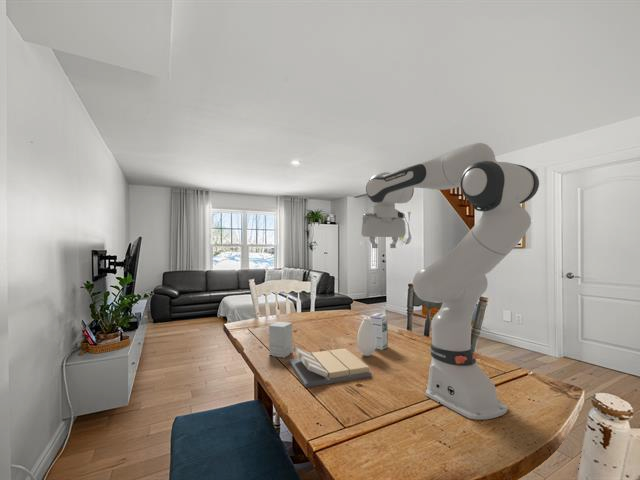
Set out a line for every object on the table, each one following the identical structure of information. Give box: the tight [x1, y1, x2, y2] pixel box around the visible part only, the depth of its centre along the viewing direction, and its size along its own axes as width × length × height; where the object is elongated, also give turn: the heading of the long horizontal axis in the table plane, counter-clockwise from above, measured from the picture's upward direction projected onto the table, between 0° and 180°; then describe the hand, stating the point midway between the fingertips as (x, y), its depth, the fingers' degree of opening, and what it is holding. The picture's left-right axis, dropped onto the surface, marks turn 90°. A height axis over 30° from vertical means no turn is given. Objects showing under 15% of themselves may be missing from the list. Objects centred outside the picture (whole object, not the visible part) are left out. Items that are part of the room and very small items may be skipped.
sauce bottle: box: [356, 311, 377, 357], centre depth 124 cm, size 8×8×18 cm
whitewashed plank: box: [292, 345, 328, 377], centre depth 108 cm, size 20×7×2 cm, turn 20°
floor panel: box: [288, 348, 372, 388], centre depth 110 cm, size 22×24×3 cm
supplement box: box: [268, 321, 293, 358], centre depth 126 cm, size 7×7×13 cm
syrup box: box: [369, 312, 389, 351], centre depth 134 cm, size 6×6×14 cm
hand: (384, 248), depth 121 cm, fingers open, 8 cm apart
